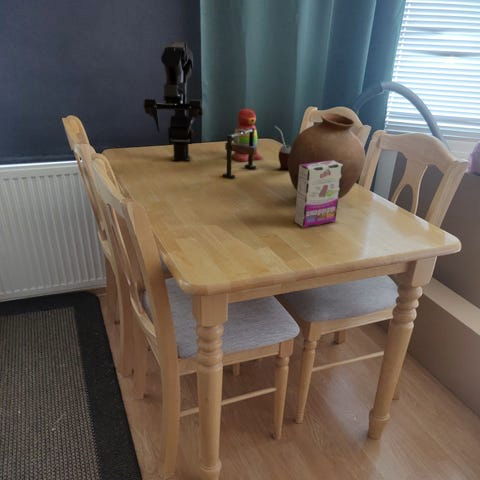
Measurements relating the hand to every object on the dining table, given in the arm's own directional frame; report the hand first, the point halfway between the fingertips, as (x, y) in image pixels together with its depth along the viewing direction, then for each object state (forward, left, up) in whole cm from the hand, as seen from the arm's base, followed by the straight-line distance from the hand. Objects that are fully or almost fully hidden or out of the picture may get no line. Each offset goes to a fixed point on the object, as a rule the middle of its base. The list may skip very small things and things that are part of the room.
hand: (173, 132), depth 155 cm
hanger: (-9, +23, -8) cm, 26 cm away
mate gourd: (-15, +40, -16) cm, 45 cm away
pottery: (+16, +47, -16) cm, 52 cm away
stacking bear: (-30, +26, -16) cm, 42 cm away
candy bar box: (+36, +41, -16) cm, 57 cm away
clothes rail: (-9, +23, -15) cm, 29 cm away
